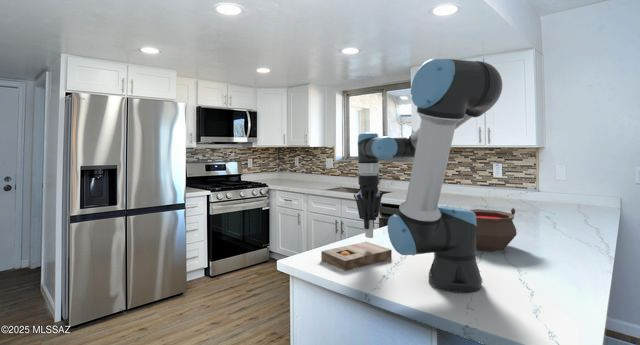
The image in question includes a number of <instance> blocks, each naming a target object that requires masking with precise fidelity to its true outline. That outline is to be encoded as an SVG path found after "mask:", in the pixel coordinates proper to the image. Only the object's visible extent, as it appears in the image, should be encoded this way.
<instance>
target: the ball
mask: <svg viewBox="0 0 640 345" xmlns="http://www.w3.org/2000/svg"><path fill="white" fill-rule="evenodd" d="M341 255H343V256H347V255H350V254H349V252H347V251H343V252H342V253H341Z"/></svg>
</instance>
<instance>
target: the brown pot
mask: <svg viewBox="0 0 640 345" xmlns="http://www.w3.org/2000/svg"><path fill="white" fill-rule="evenodd" d="M470 210H471V211H473V212H474V213H475V214H476V224H477V234H476V251H477V250H478V251H484V252H485V251H486V252H497V251H498V252H499V251H504V250H505V249H506V248H507V246H508V245H509V244H510V243H512V241H513V239H514V238H515V237H516V236H517V228H516V226H515V223H514V219H515V213H516V209H515V207H512V208H511V210H510V212H506V211H502V210H497V209H496V210H495V209H494V210H493V209H480V208H479V209H478V208H476V209H470Z"/></svg>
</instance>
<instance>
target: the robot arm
mask: <svg viewBox="0 0 640 345" xmlns="http://www.w3.org/2000/svg"><path fill="white" fill-rule="evenodd" d="M502 91H503V80H502V76H501V74H500V72H499V71H498V69H497V68H495V67H494V66H493V65H492V64H490V63H488V62H485V61H479V60H475V61H474V60H465V59H453V58H431V59H429V60H427V61H425V62H423V63H422V65H421V66H419V68H418V69H417V70H416V72H415V74H414V76H413V79H412V82H411V86H410V94H411V101H412V103H413V104H414V106H416V107H417V108H416V114H417V115H418V116H419V117H420V119H421V120H420V125H419V128H418V129H416V130H415V131H414V132H412V134H410V135H409V136H379V135H378V133H376V132H362V133H359V134H358V136H357V158H358V159H357V162H358V165H357V167H358V172H357V173H358V174H359V175H358V177H357V178H358V186H359V189H358V192H357V193H355V194H353V198H354V199H355V202H356V206H357V213H358V217H359V220H360V219H361V220H363V228H364V230H365V231H364V232H365V233H364V234H365V238H367V239H373V238H374V228H375V221H376V220H377V218H379V215H380V208H381V202H382V198H383V196H384V192H381V191H379V187H378V185H379V182H380V181H379V180H380V179H379V178H380V176H379V171H380V170H379V169H380V168H379V167H380V166H379V162H380V161H379V160H389V159H413V161H412V162H413V163H412V167H411V171H410V176H409V183H408V187H407V188H408V189H407V193H406V198H405V201H403V202H402V203H400V204H399V207H398V212H397V214H395V213H394V214H393V215H391V216H389V218H388V221H387V234H388V237H389V242H390V243H391V245H392V247H393V249H394V250H395V252H397V254H399V255H401V256H416V255H422V254H432V253H433V254H434V252H435V257H434V256H433V260H432V264H431V265H430V269H429V271H428V283H429V284H430V285H431V286H433V287H434V288H437V289H439V290H442V291H447V292H452V293H463V294H464V293H466V294H467V293H475V292H478V291H479V290H481V289H482V288H483V282H482V281H483V279H482V275H481V273H480V272H481V271H480V269H479V265H478V263H477V249H476V234H477V224H476V214H475V213H474V212H473V211H471V210H472V209H468V208H467V209H466V208H462V207H454V206H448V205H439V203H440V202H439V201H440V198H441V192H442V188H443V183H444V180H445V174H446V170H447V165H448V160H449V157H450V153H451V148H452V144H453V140H454V134H455V130H457V129H458V128H459V127H461V126H462V125H464V124H465V123H466V122H467V121H469V120H470V119H473V118H479V117H482V115H484V114H486V112H488V111H489V110H491V109H492V107H494V106H495V105H496V104H497V102H498V101H499V99H500V97H501V94H502Z"/></svg>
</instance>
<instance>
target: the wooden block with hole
mask: <svg viewBox="0 0 640 345" xmlns="http://www.w3.org/2000/svg"><path fill="white" fill-rule="evenodd" d="M392 250H393V249H392V248H387V247H385V246H382V245H381V246H380V245H378V244H375V243H371V242H368V241H363V242H359V243H358V242H357V243H354V244H349V245H348V244H347V245H344V246H339V247H335V248H330V249H325V250H321V252H320V253H321V256H320V258H321V260H320V261H322V262H324V263H327V264H328V265H329V266H330V265H331V266H333V267H335V268H338V269H340V270H343V271H344V272H346V271H351V270H355V269H358V268H362V267H363V268H364V267H366V266H370V265H373V264H377V263H382V262H385V261H388V260H392V259H393V258H392V253H393V252H392ZM343 251H347V252H349V254H350V255H347V256H343V255H341V253H342V252H343Z"/></svg>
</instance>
